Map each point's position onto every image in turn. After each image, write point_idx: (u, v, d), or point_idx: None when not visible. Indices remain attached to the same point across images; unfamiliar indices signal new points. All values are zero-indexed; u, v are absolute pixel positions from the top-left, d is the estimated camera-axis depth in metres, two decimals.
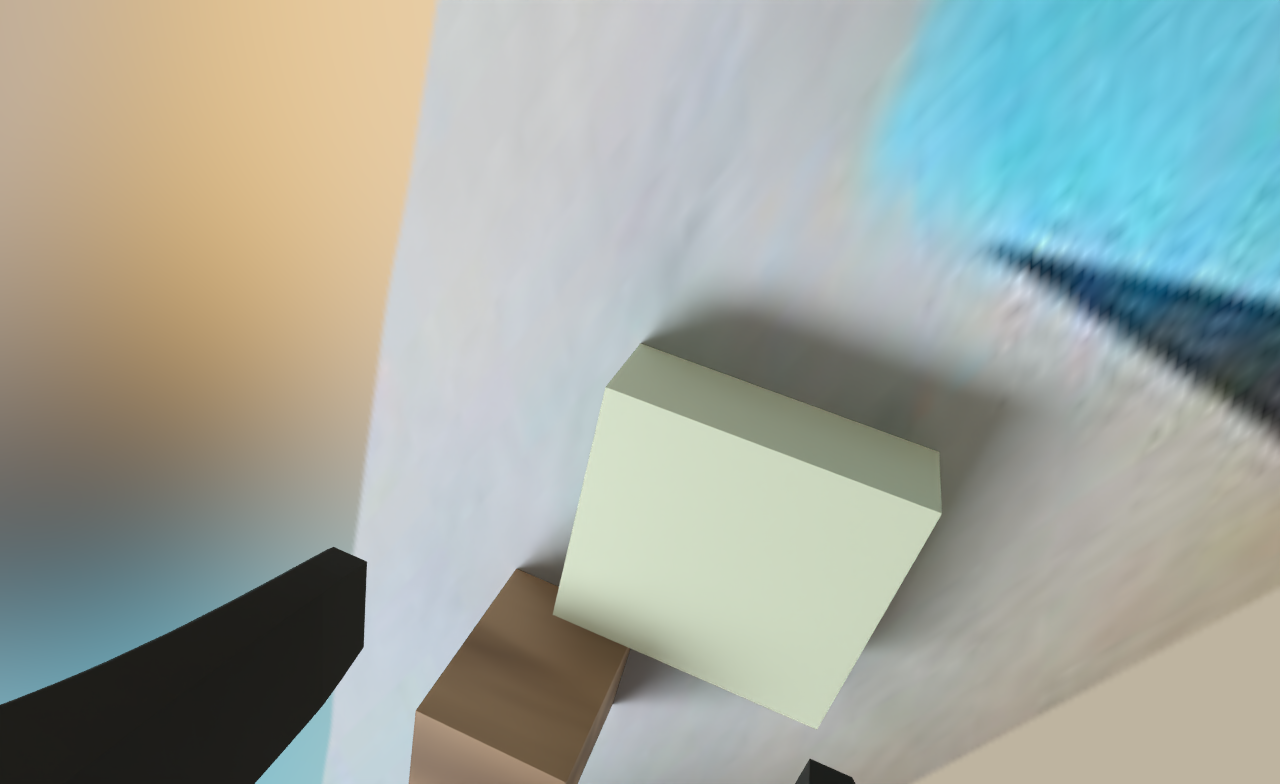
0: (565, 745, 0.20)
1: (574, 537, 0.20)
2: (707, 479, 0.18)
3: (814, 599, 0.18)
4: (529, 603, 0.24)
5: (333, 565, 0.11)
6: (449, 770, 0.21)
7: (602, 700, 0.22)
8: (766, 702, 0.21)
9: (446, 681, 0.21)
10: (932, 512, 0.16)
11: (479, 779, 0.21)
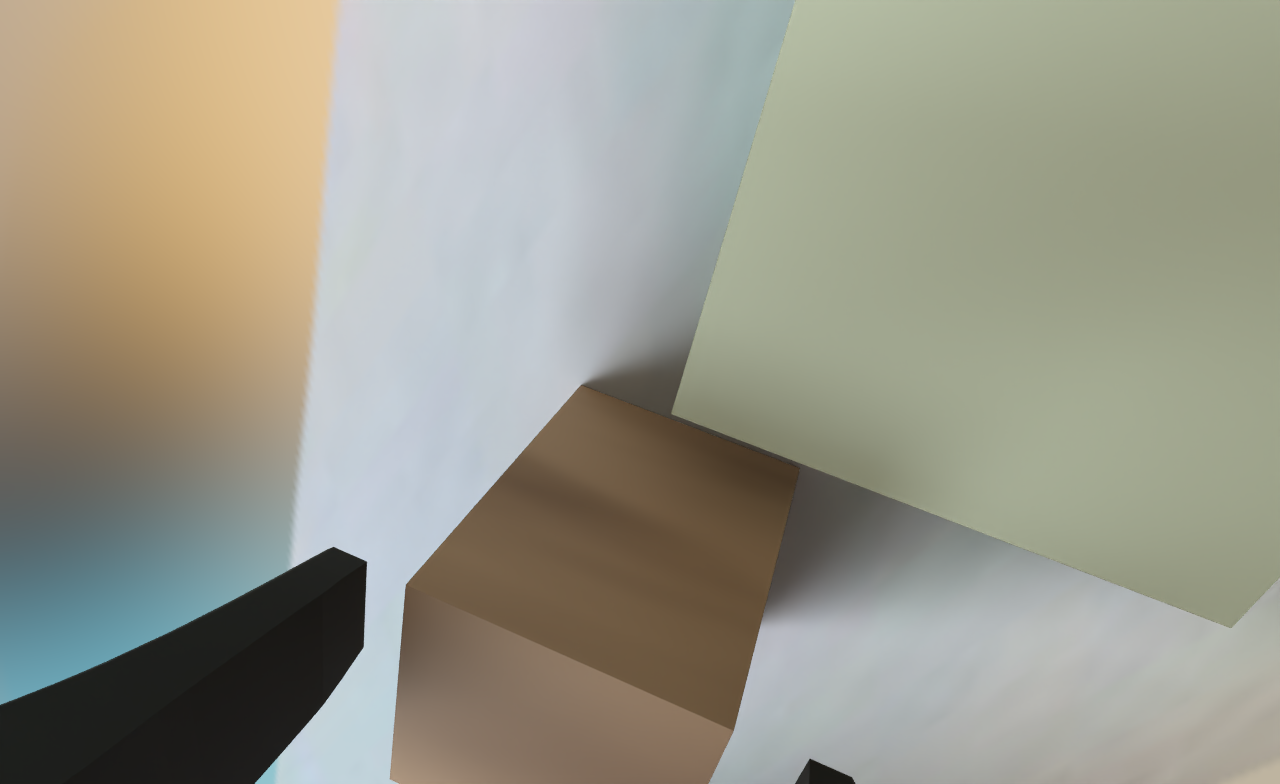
0: (717, 658, 0.10)
1: (739, 216, 0.10)
2: None
3: None
4: (609, 431, 0.14)
5: (334, 565, 0.11)
6: (472, 716, 0.10)
7: (769, 582, 0.11)
8: (1122, 573, 0.10)
9: (467, 538, 0.11)
10: None
11: (536, 733, 0.10)
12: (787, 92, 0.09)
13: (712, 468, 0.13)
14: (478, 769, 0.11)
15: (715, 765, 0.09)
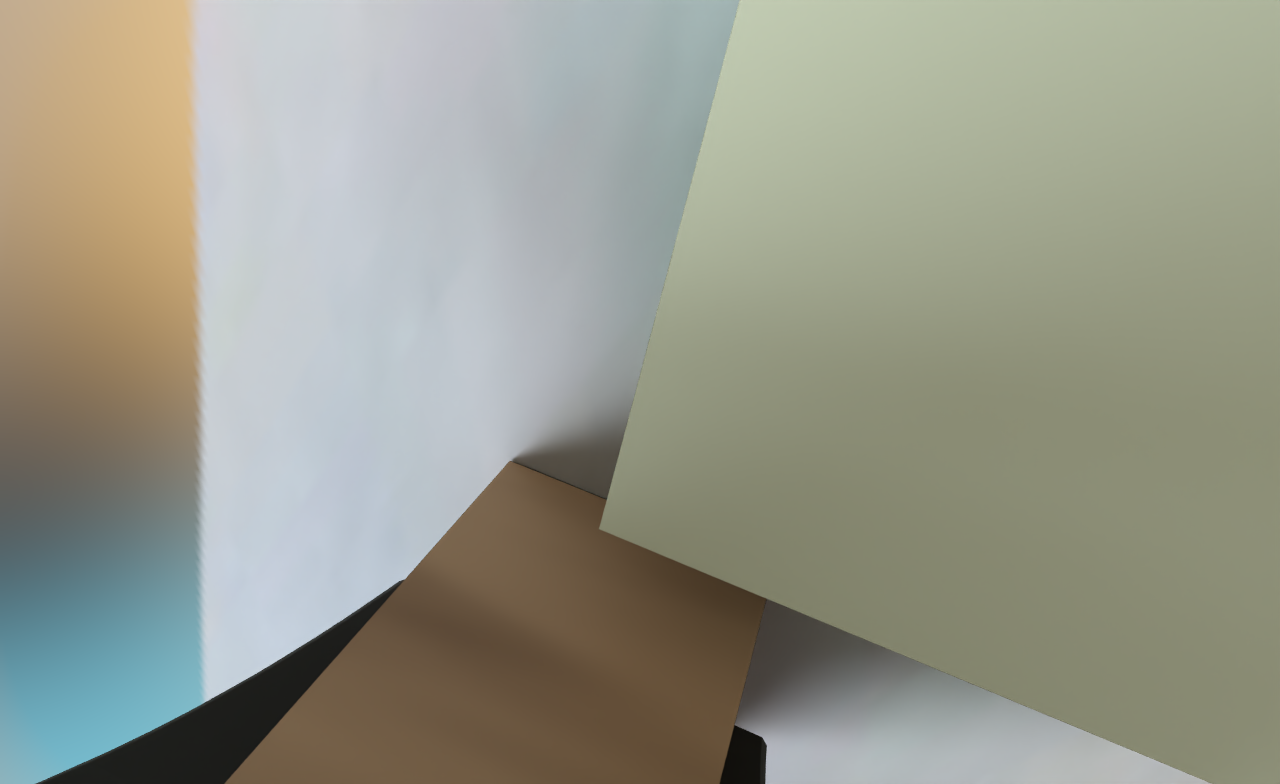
0: None
1: (675, 287, 0.07)
2: None
3: None
4: (537, 527, 0.11)
5: None
6: None
7: (725, 751, 0.09)
8: (1191, 759, 0.07)
9: (321, 705, 0.08)
10: None
11: None
12: (735, 121, 0.06)
13: (663, 575, 0.11)
14: None
15: None
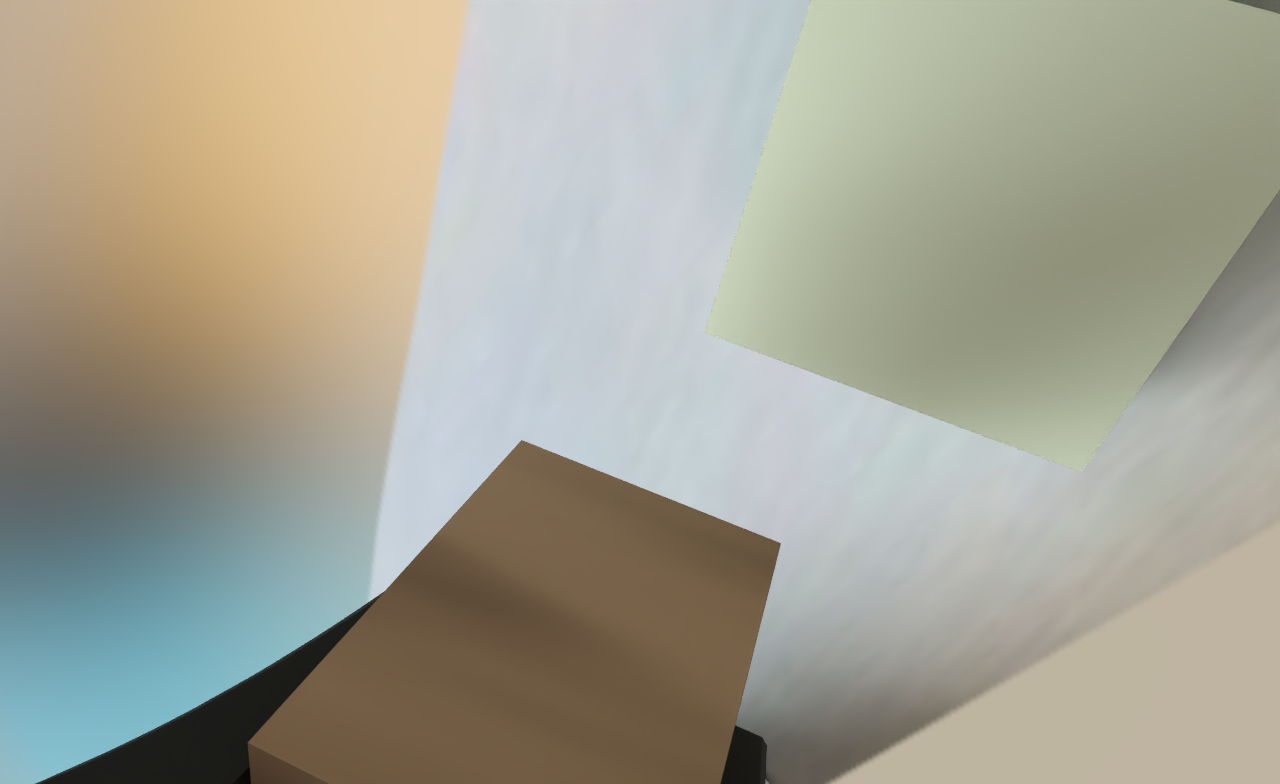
0: None
1: (755, 192, 0.14)
2: (985, 46, 0.12)
3: (1123, 244, 0.13)
4: (549, 502, 0.11)
5: None
6: None
7: (735, 712, 0.09)
8: (1010, 436, 0.15)
9: (345, 664, 0.08)
10: None
11: None
12: (788, 111, 0.14)
13: (673, 549, 0.11)
14: None
15: None
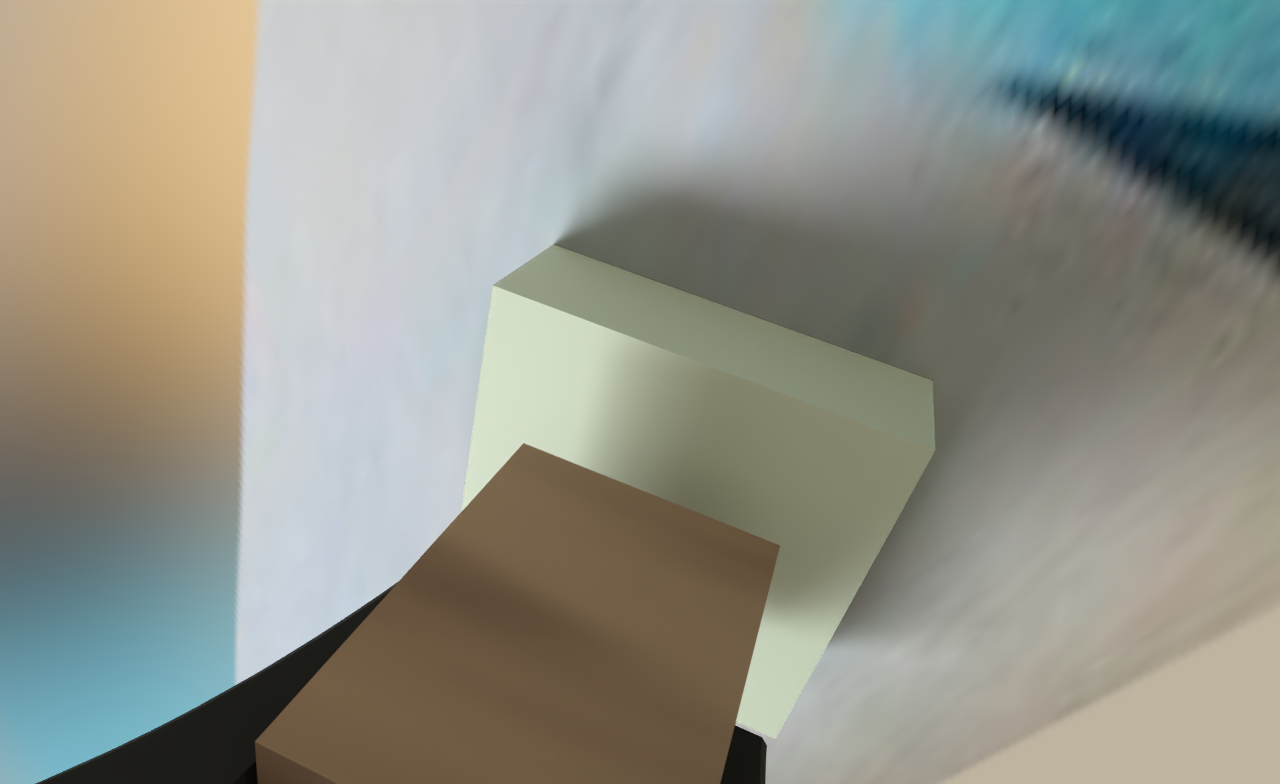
0: None
1: (468, 492, 0.16)
2: (627, 409, 0.14)
3: None
4: (551, 505, 0.11)
5: None
6: None
7: (735, 713, 0.09)
8: None
9: (350, 665, 0.08)
10: (922, 449, 0.12)
11: None
12: (482, 435, 0.15)
13: (673, 551, 0.11)
14: None
15: None
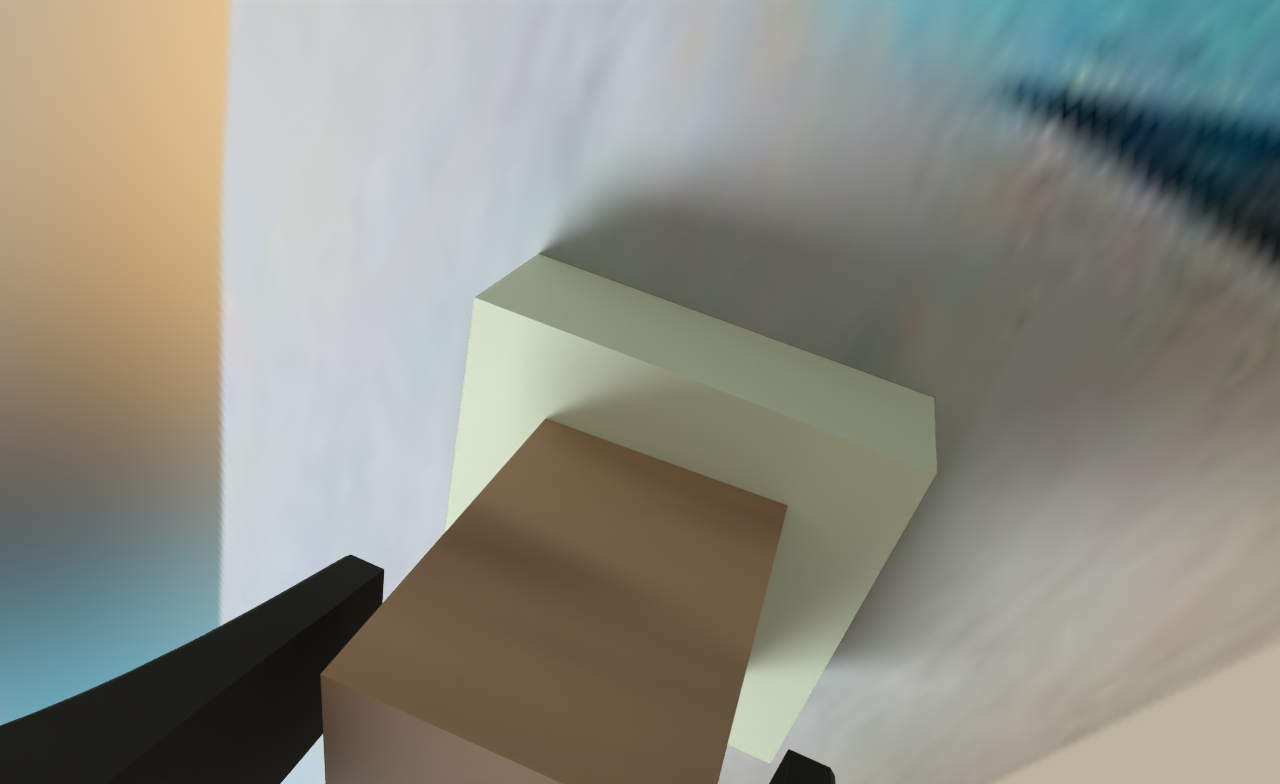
0: (685, 750, 0.08)
1: (452, 510, 0.15)
2: (616, 427, 0.13)
3: None
4: (573, 472, 0.12)
5: (352, 573, 0.11)
6: None
7: (749, 649, 0.10)
8: None
9: (399, 610, 0.09)
10: (923, 470, 0.12)
11: None
12: (465, 452, 0.14)
13: (688, 511, 0.12)
14: None
15: None
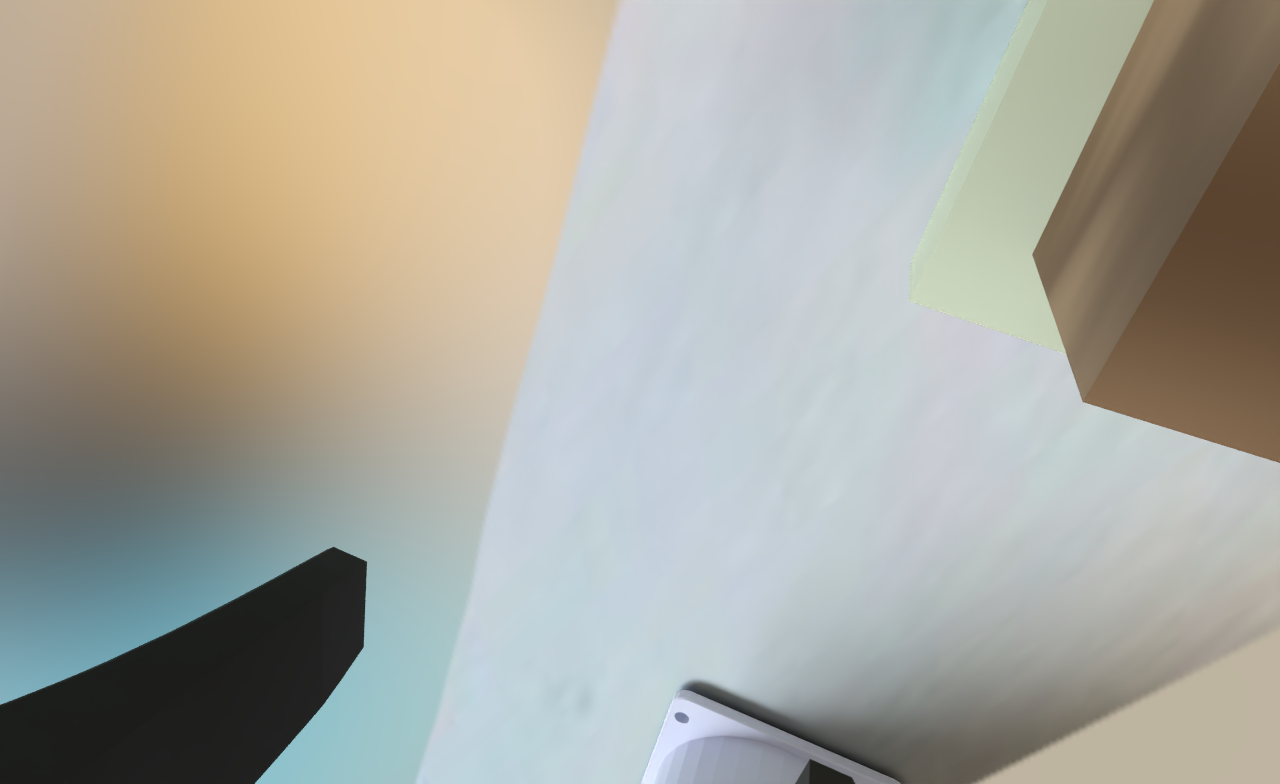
0: None
1: (988, 143, 0.13)
2: None
3: None
4: None
5: (333, 565, 0.11)
6: None
7: None
8: None
9: None
10: None
11: None
12: (1039, 51, 0.12)
13: None
14: None
15: None
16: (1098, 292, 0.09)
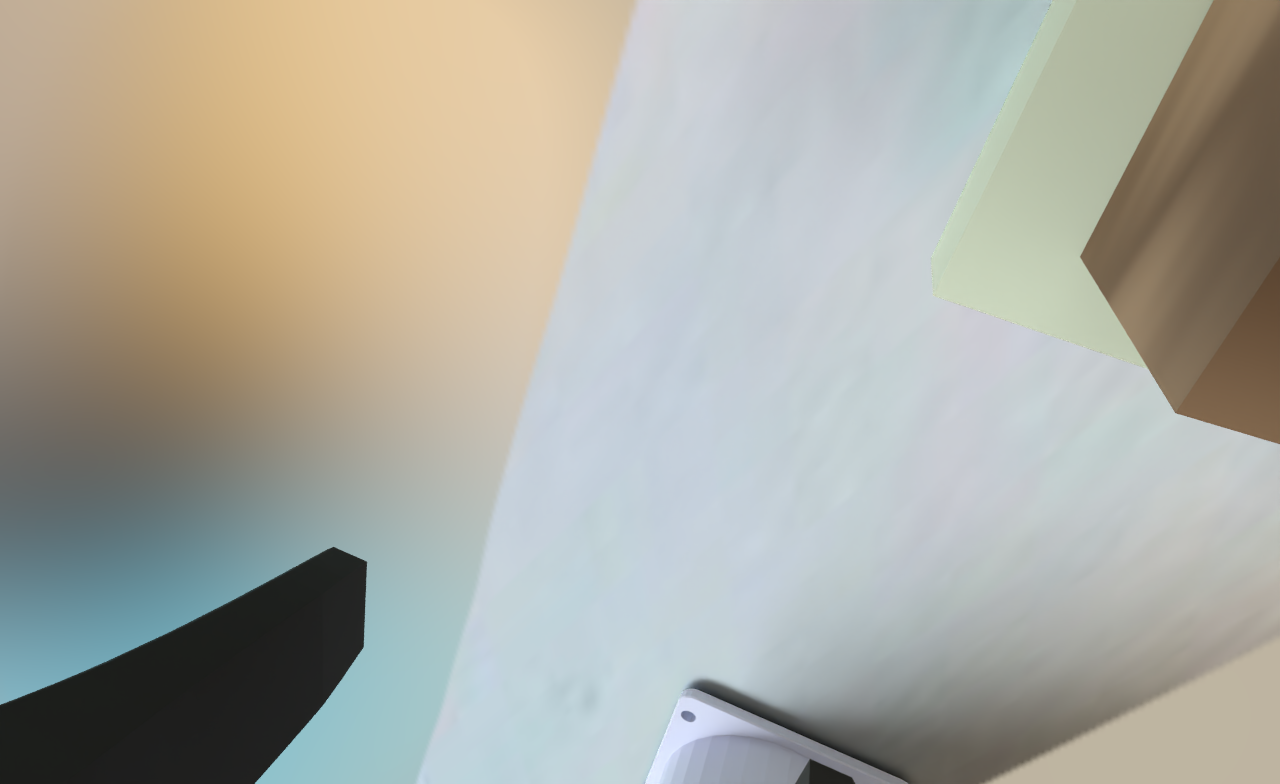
0: None
1: (1017, 136, 0.13)
2: None
3: None
4: None
5: (334, 565, 0.11)
6: None
7: None
8: None
9: None
10: None
11: None
12: (1071, 42, 0.12)
13: None
14: None
15: None
16: (1180, 300, 0.09)
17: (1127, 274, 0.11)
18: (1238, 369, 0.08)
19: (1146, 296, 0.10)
